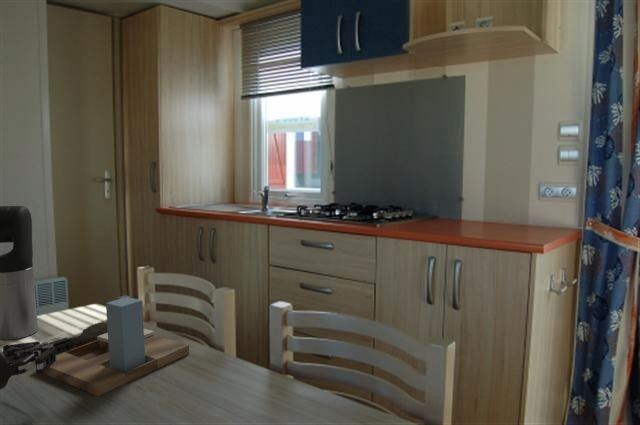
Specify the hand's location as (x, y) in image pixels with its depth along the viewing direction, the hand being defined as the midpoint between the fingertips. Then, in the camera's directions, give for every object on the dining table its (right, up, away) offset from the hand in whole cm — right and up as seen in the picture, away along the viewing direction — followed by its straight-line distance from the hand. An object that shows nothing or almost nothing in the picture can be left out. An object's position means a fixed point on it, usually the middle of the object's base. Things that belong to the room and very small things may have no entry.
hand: (70, 343), depth 94 cm
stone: (-7, -7, +29) cm, 31 cm away
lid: (+2, -4, +22) cm, 23 cm away
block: (+8, -8, +9) cm, 14 cm away
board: (+3, -8, +13) cm, 16 cm away
